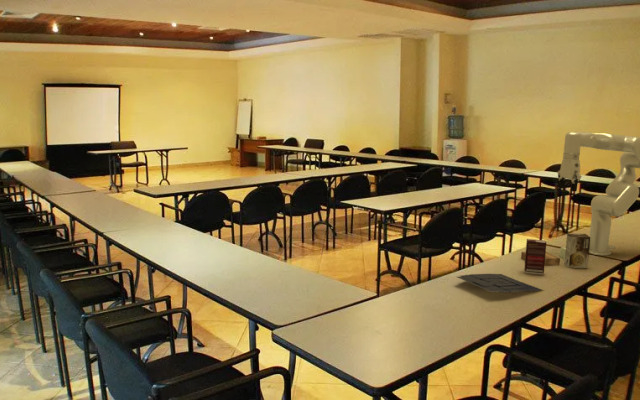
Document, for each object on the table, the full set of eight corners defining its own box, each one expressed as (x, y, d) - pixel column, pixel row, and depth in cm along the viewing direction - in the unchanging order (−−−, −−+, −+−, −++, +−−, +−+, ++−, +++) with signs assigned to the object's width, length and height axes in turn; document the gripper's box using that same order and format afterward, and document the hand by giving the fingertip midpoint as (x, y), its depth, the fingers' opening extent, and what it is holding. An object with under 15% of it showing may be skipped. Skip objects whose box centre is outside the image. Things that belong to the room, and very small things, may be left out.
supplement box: (542, 272, 244) (546, 240, 241) (543, 275, 240) (546, 242, 237) (523, 270, 247) (526, 238, 244) (524, 273, 243) (527, 240, 240)
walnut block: (542, 258, 269) (543, 250, 268) (559, 265, 256) (560, 258, 255) (520, 259, 266) (521, 252, 265) (536, 267, 253) (537, 259, 253)
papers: (451, 281, 227) (453, 273, 226) (499, 279, 241) (500, 271, 241) (493, 300, 206) (494, 291, 205) (542, 296, 220) (544, 288, 220)
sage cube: (567, 256, 272) (568, 247, 271) (574, 258, 267) (575, 249, 266) (559, 256, 271) (560, 247, 270) (565, 259, 266) (566, 250, 265)
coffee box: (582, 264, 257) (585, 233, 254) (587, 268, 251) (591, 236, 248) (563, 263, 258) (566, 233, 255) (568, 267, 251) (571, 236, 248)
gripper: (589, 158, 254) (585, 192, 257) (566, 155, 270) (563, 186, 273) (575, 158, 252) (571, 192, 255) (554, 154, 269) (550, 187, 272)
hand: (567, 189), depth 264 cm, fingers open, 9 cm apart
